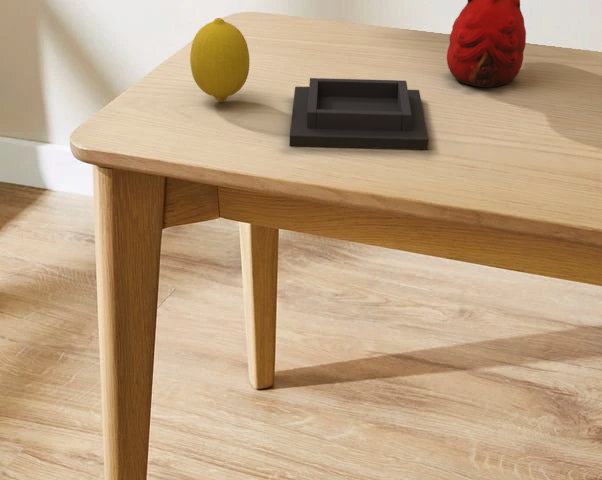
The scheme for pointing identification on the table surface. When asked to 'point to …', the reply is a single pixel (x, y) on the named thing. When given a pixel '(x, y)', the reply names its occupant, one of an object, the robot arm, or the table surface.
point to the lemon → (219, 59)
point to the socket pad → (358, 115)
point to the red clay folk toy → (487, 43)
